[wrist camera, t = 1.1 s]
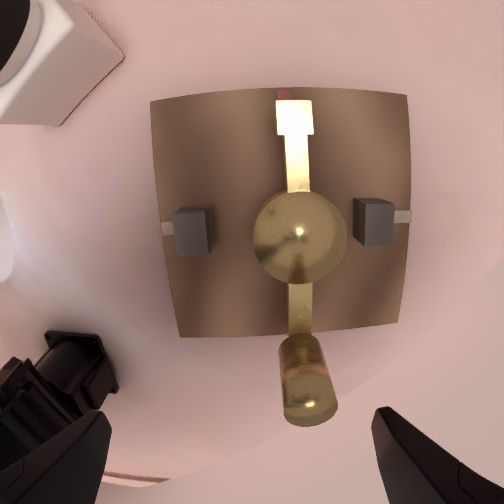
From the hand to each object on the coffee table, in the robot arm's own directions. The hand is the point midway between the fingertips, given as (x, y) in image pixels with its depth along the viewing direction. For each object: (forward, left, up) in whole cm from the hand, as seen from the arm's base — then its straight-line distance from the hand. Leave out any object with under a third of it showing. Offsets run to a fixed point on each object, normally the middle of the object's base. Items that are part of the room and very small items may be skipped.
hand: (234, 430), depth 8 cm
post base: (+3, +4, -13) cm, 14 cm away
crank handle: (+3, +3, -9) cm, 10 cm away
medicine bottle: (-12, +17, -13) cm, 25 cm away
